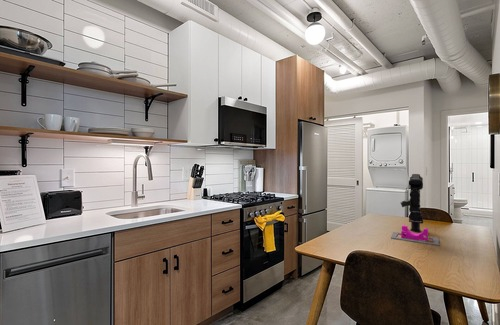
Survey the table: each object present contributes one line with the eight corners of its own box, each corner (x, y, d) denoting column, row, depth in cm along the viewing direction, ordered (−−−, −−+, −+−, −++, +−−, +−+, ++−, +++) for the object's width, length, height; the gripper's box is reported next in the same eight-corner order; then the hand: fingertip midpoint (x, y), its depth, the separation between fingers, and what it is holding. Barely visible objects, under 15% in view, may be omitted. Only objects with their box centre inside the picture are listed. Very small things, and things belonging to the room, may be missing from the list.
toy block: (401, 237, 181) (401, 226, 181) (402, 235, 186) (402, 225, 186) (427, 241, 172) (427, 230, 172) (428, 239, 177) (428, 228, 177)
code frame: (393, 232, 194) (393, 231, 194) (438, 238, 179) (438, 238, 179) (390, 238, 179) (390, 237, 179) (439, 245, 164) (439, 244, 164)
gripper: (402, 194, 191) (401, 216, 191) (400, 197, 175) (400, 221, 175) (420, 196, 185) (420, 218, 185) (420, 199, 169) (420, 223, 169)
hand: (414, 220), depth 179 cm, fingers open, 9 cm apart
